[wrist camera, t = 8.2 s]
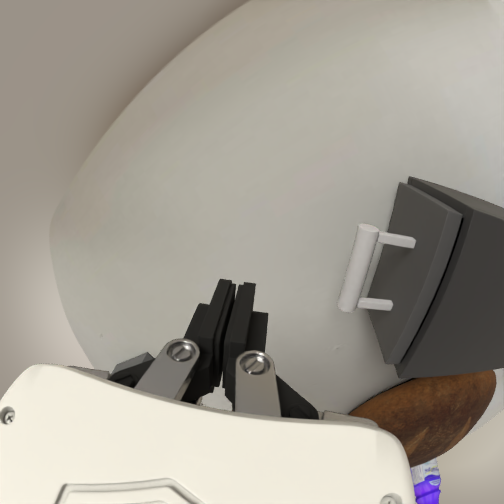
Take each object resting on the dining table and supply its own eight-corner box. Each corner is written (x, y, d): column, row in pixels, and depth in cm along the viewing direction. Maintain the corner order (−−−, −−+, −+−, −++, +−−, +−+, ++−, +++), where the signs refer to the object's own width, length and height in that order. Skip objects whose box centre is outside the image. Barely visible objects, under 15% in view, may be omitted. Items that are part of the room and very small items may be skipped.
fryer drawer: (322, 298, 24) (331, 362, 17) (350, 171, 19) (383, 194, 12) (466, 311, 23) (497, 358, 16) (503, 215, 18) (552, 247, 11)
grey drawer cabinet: (372, 304, 25) (398, 378, 16) (408, 176, 19) (474, 209, 11) (473, 312, 24) (510, 366, 15) (511, 211, 18) (569, 249, 10)
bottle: (437, 443, 38) (449, 504, 23) (420, 455, 41) (430, 513, 25) (418, 444, 38) (429, 511, 22) (400, 456, 40) (408, 519, 25)
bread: (324, 456, 40) (324, 493, 32) (344, 373, 29) (352, 434, 21) (451, 431, 36) (459, 462, 28) (511, 338, 25) (536, 377, 17)
